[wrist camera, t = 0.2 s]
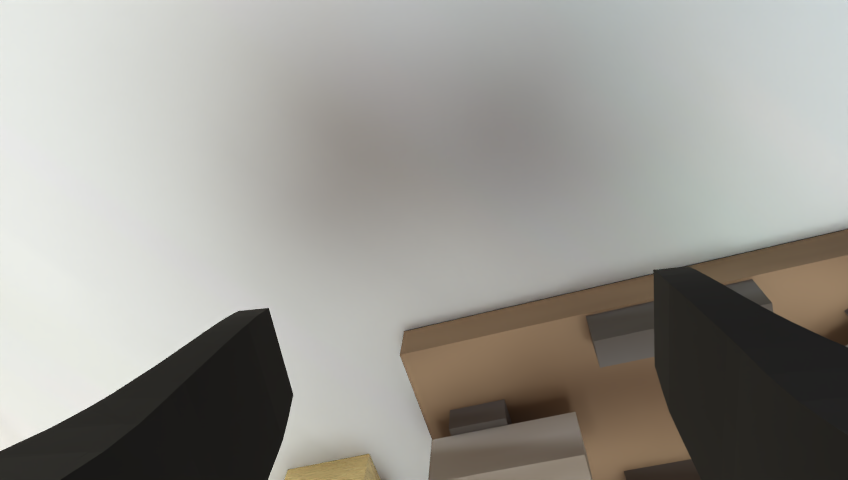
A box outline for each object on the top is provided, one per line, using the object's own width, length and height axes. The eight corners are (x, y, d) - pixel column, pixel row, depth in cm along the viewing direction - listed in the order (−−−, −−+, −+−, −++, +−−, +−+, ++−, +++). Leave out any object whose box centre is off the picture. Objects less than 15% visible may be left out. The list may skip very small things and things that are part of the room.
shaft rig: (945, 405, 23) (1044, 503, 19) (464, 491, 27) (462, 590, 23) (945, 206, 20) (1064, 271, 16) (404, 331, 24) (389, 411, 20)
